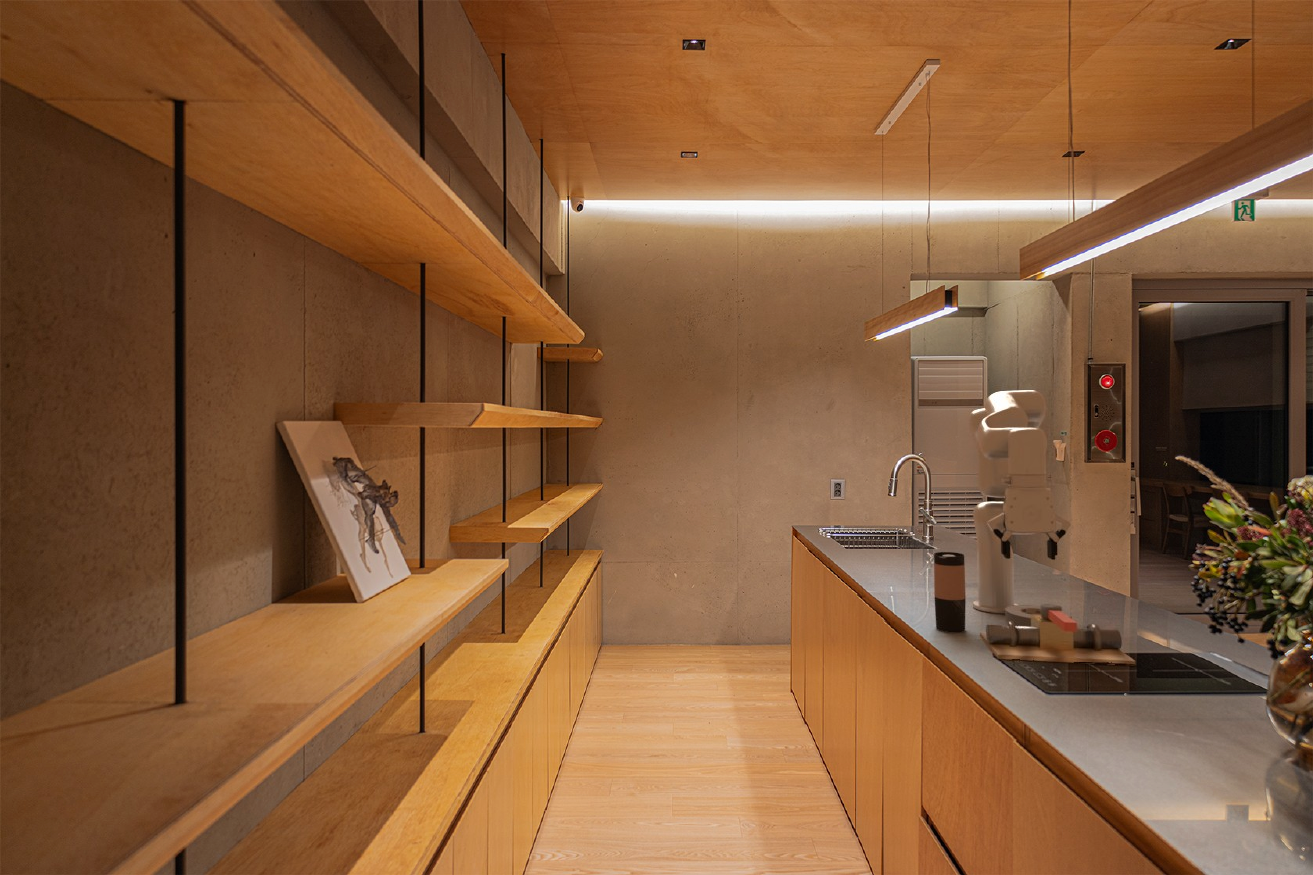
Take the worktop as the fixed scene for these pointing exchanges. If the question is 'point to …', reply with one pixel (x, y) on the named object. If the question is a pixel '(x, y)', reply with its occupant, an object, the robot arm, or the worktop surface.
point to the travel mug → (949, 591)
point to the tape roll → (1023, 614)
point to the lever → (1058, 617)
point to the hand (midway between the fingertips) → (1029, 558)
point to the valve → (1053, 636)
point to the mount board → (1057, 653)
